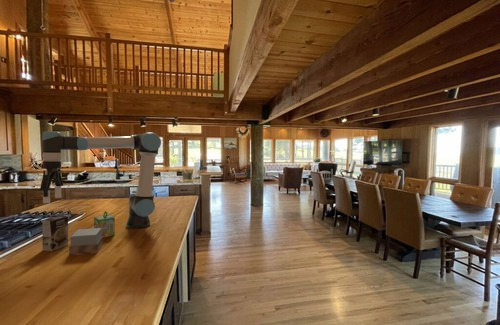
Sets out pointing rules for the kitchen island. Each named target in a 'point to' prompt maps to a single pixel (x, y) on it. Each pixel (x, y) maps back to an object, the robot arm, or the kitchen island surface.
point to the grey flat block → (86, 237)
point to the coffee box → (55, 233)
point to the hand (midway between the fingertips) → (52, 200)
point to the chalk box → (105, 224)
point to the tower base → (85, 249)
